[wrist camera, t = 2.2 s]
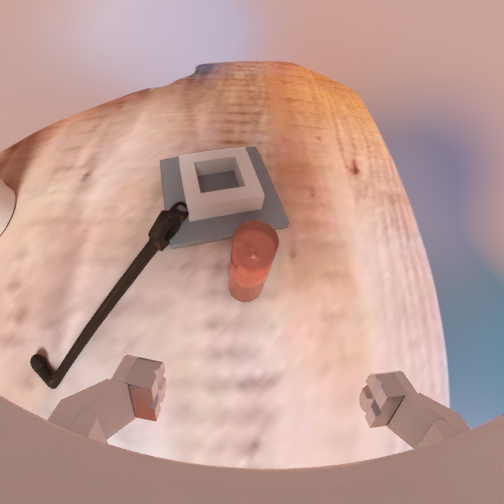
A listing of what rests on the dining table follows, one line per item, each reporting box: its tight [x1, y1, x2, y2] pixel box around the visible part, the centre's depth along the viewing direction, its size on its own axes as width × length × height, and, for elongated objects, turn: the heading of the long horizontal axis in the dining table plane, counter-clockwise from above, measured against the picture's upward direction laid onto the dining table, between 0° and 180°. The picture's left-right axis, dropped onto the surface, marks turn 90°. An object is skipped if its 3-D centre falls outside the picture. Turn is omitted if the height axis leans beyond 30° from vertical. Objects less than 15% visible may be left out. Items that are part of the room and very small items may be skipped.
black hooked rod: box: [30, 201, 189, 389], centre depth 30 cm, size 5×5×30 cm
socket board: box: [160, 146, 289, 249], centre depth 39 cm, size 16×16×4 cm
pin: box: [229, 221, 279, 302], centre depth 29 cm, size 4×4×11 cm
